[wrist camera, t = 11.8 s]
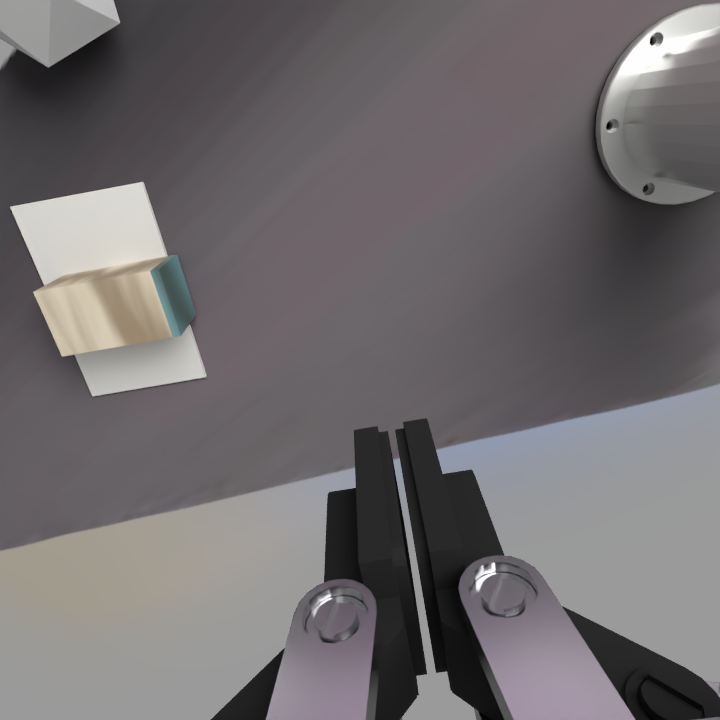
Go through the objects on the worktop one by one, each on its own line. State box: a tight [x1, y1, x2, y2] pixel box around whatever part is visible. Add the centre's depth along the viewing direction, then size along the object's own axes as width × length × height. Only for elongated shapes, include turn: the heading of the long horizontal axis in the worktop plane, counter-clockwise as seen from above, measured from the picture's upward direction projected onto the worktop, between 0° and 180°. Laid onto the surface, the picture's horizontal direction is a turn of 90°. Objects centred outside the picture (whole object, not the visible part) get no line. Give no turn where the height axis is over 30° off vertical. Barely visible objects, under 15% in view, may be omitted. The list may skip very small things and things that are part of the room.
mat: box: [10, 182, 207, 396], centre depth 42 cm, size 10×16×1 cm, turn 10°
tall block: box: [33, 255, 196, 356], centre depth 40 cm, size 4×5×9 cm
